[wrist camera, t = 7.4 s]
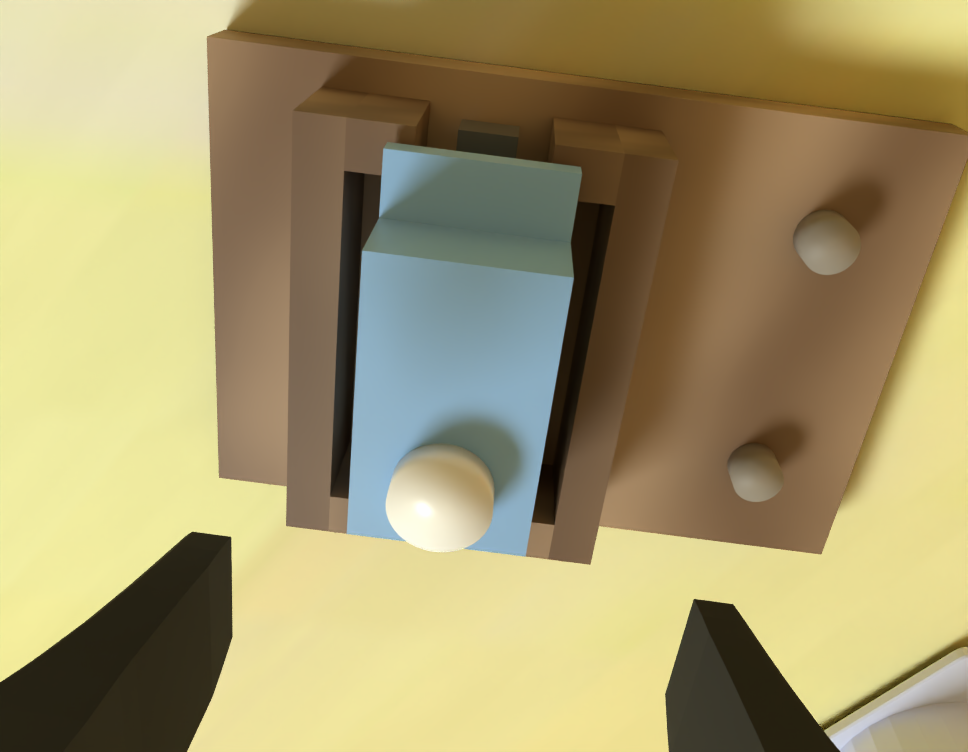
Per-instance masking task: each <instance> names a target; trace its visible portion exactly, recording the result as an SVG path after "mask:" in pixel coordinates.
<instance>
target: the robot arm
mask: <svg viewBox="0 0 968 752" xmlns="http://www.w3.org/2000/svg"><path fill="white" fill-rule="evenodd" d="M231 639H232V562H231V537H227V536H220V535H213V534H205V533H198V532H191V533H190V534H188V535H187V536H185V537H184V538H183V539H182V540H181V541H180V542H179V543H177V544H176V545H175V546H174V547H173V548H172V549H171V550H169V551H168V552H167V553H166V554H165V555H164V556H163V557H162V558H160V559H159V560H158V561H157V562H156V563H155V564H154V565H153V566H151V567H150V568H149V569H148V570H147V571H146V572H144V573H143V574H142V575H141V576H140V577H139V578H138V579H136V580H135V581H134V582H133V583H132V584H131V585H129V586H128V587H127V588H126V589H125V590H123V591H122V592H121V593H120V594H119V595H117V596H116V597H115V598H114V599H112V600H111V601H110V602H109V603H108V604H106V605H105V606H104V607H103V608H102V609H100V610H99V611H98V612H97V613H95V614H94V615H93V616H92V617H90V618H89V619H88V620H87V621H85V622H84V623H83V624H82V625H80V626H79V627H78V628H76V629H75V630H73V631H72V632H71V633H69V634H68V635H67V636H65V637H64V638H63V639H61V640H60V641H59V642H57V643H56V644H55V645H53V646H52V647H51V648H49V649H48V650H47V651H45V652H44V653H43V654H41V655H40V656H38V657H37V658H36V659H34V660H33V661H31V662H30V663H28V664H27V665H25V666H24V667H23V668H21V669H20V670H18V671H17V672H15V673H14V674H12V675H11V676H9V677H8V678H6V679H5V680H3V681H2V682H0V752H187V750H188V748H189V746H190V744H191V742H192V740H193V737H194V735H195V733H196V731H197V729H198V727H199V725H200V723H201V720H202V718H203V716H204V714H205V712H206V710H207V707H208V705H209V703H210V701H211V699H212V696H213V694H214V691H215V688H216V685H217V682H218V679H219V676H220V673H221V670H222V667H223V664H224V661H225V658H226V655H227V652H228V649H229V646H230V642H231ZM665 697H666V715H667V732H668V745H669V752H968V647H962V648H959V649H956V650H954V651H953V652H951V653H949V654H948V655H946V656H944V657H943V658H941V659H940V660H938V661H936V662H935V663H933V664H931V665H930V666H928V667H926V668H925V669H923V670H922V671H920V672H918V673H917V674H915V675H913V676H912V677H910V678H909V679H907V680H905V681H904V682H902V683H900V684H899V685H897V686H896V687H894V688H892V689H891V690H889V691H887V692H886V693H884V694H883V695H881V696H879V697H878V698H876V699H874V700H873V701H871V702H870V703H868V704H866V705H865V706H863V707H861V708H860V709H858V710H857V711H855V712H853V713H852V714H850V715H848V716H847V717H845V718H844V719H842V720H840V721H839V722H837V723H835V724H834V725H832V726H831V727H829V728H827V729H826V730H824V731H823V729H822V728H821V727H820V726H819V724H818V723H817V722H816V720H815V719H814V718H813V716H812V715H811V714H810V712H809V711H808V710H807V708H806V707H805V706H804V704H803V703H802V702H801V700H800V699H799V698H798V696H797V695H796V694H795V692H794V691H793V690H792V688H791V687H790V685H789V684H788V683H787V681H786V680H785V678H784V677H783V676H782V674H781V673H780V671H779V670H778V668H777V667H776V666H775V664H774V663H773V661H772V660H771V658H770V657H769V656H768V654H767V653H766V651H765V650H764V648H763V647H762V645H761V644H760V642H759V641H758V640H757V638H756V637H755V635H754V634H753V632H752V631H751V629H750V628H749V626H748V625H747V623H746V622H745V620H744V619H743V618H742V616H741V615H740V613H739V612H738V610H737V609H736V608H735V606H734V605H733V604H727V603H720V602H712V601H705V600H697V599H694V600H693V604H692V607H691V610H690V614H689V617H688V620H687V624H686V627H685V630H684V634H683V637H682V640H681V644H680V647H679V650H678V654H677V657H676V660H675V664H674V667H673V670H672V674H671V677H670V680H669V684H668V687H667V690H666V694H665Z"/></svg>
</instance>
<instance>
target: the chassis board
mask: <svg viewBox="0 0 968 752" xmlns="http://www.w3.org/2000/svg"><path fill="white" fill-rule="evenodd" d="M207 59H208V95H209V131H210V167H211V203H212V239H213V275H214V311H215V347H216V383H217V419H218V455H219V478H226V479H234V480H241V481H249V482H257V483H265V484H273V485H281V486H287V511H286V526H291V527H299V528H307V529H314V530H322V531H330V532H338V533H346V534H347V520H348V502H349V483H350V465H351V446H352V428H353V409H354V391H355V372H356V354H357V335H358V317H359V298H360V280H361V261H362V250H363V248H364V246H365V244H366V242H367V240H368V238H369V236H370V234H371V232H372V230H373V229H374V227H375V225H376V223H377V221H378V219H379V210H380V194H381V178H382V162H383V148H384V147H385V145H386V144H387V142H392V143H399V144H407V145H415V146H423V147H430V148H438V149H446V150H454V151H456V147H457V137H458V129H459V126H460V123H461V121H462V119H466V120H474V121H482V122H489V123H497V124H505V125H513V126H520V128H519V138H518V146H517V154H516V159H523V160H531V161H539V162H547V163H554V164H562V165H570V166H578V167H581V170H582V178H581V183H580V189H579V195H578V201H577V207H576V213H575V219H574V225H573V231H572V237H571V252H572V263H573V274H574V280H573V286H572V292H571V297H570V303H569V309H568V315H567V320H566V326H565V332H564V338H563V343H562V349H561V355H560V361H559V366H558V372H557V378H556V384H555V389H554V395H553V401H552V407H551V413H550V418H549V424H548V430H547V436H546V441H545V447H544V453H543V459H542V464H541V470H540V476H539V482H538V487H537V493H536V499H535V505H534V511H533V516H532V522H531V528H530V534H529V539H528V545H527V551H526V556H527V557H535V558H543V559H551V560H558V561H566V562H574V563H582V564H591V559H592V554H593V550H594V545H595V541H596V536H597V532H598V527H599V526H603V527H611V528H618V529H626V530H634V531H642V532H650V533H658V534H666V535H673V536H681V537H689V538H697V539H705V540H713V541H721V542H728V543H736V544H744V545H752V546H760V547H768V548H776V549H783V550H791V551H799V552H807V553H815V554H822V551H823V548H824V546H825V543H826V540H827V538H828V535H829V532H830V530H831V527H832V524H833V521H834V519H835V516H836V513H837V511H838V508H839V505H840V502H841V500H842V497H843V494H844V492H845V489H846V486H847V484H848V481H849V478H850V475H851V473H852V470H853V467H854V465H855V462H856V459H857V457H858V454H859V451H860V448H861V446H862V443H863V440H864V438H865V435H866V432H867V430H868V427H869V424H870V421H871V419H872V416H873V413H874V411H875V408H876V405H877V402H878V400H879V397H880V394H881V392H882V389H883V386H884V384H885V381H886V378H887V375H888V373H889V370H890V367H891V365H892V362H893V359H894V357H895V354H896V351H897V348H898V346H899V343H900V340H901V338H902V335H903V332H904V330H905V327H906V324H907V321H908V319H909V316H910V313H911V311H912V308H913V305H914V302H915V300H916V297H917V294H918V292H919V289H920V286H921V284H922V281H923V278H924V275H925V273H926V270H927V267H928V265H929V262H930V259H931V257H932V254H933V251H934V248H935V246H936V243H937V240H938V238H939V235H940V232H941V230H942V227H943V224H944V221H945V219H946V216H947V213H948V211H949V208H950V205H951V202H952V200H953V197H954V194H955V192H956V189H957V186H958V184H959V181H960V178H961V175H962V173H963V170H964V167H965V165H966V162H967V159H968V132H966V131H964V130H962V129H960V128H958V127H956V126H954V125H953V124H946V123H938V122H931V121H923V120H915V119H908V118H900V117H892V116H885V115H877V114H869V113H861V112H854V111H846V110H838V109H831V108H823V107H815V106H808V105H800V104H792V103H785V102H777V101H769V100H761V99H754V98H746V97H738V96H731V95H723V94H715V93H708V92H700V91H692V90H684V89H677V88H669V87H661V86H654V85H646V84H638V83H631V82H623V81H615V80H608V79H600V78H592V77H584V76H577V75H569V74H561V73H554V72H546V71H538V70H531V69H523V68H515V67H508V66H500V65H492V64H484V63H477V62H469V61H461V60H454V59H446V58H438V57H431V56H423V55H415V54H408V53H400V52H392V51H384V50H377V49H369V48H361V47H354V46H346V45H338V44H331V43H323V42H315V41H307V40H300V39H292V38H284V37H277V36H269V35H261V34H254V33H246V32H238V31H231V30H223V31H221V32H218V33H215V34H213V35H210V36H207Z"/></svg>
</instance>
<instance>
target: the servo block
mask: <svg viewBox="0 0 968 752" xmlns="http://www.w3.org/2000/svg"><path fill="white" fill-rule="evenodd" d="M519 128H520V126H513V125H505V124H497V123H489V122H482V121H474V120H466V119H462V121H461V123H460V126H459V129H458V137H457V147H456V151H454V150H446V149H438V148H430V147H423V146H415V145H407V144H399V143H392V142H387V144H386V145H385V147H384V148H383V162H382V178H381V194H380V210H379V219H378V221H377V223H376V225H375V227H374V229H373V230H372V232H371V234H370V236H369V238H368V240H367V242H366V244H365V246H364V248H363V250H362V261H361V280H360V298H359V317H358V335H357V354H356V372H355V391H354V409H353V428H352V446H351V465H350V483H349V502H348V520H347V534H352V535H360V536H368V537H375V538H383V539H391V540H399V541H407V542H408V543H410V544H412V545H414V546H416V547H418V548H421V549H424V550H428V551H433V552H452V551H457V550H461V549H470V550H478V551H486V552H494V553H502V554H510V555H518V556H525V557H526V551H527V545H528V539H529V534H530V528H531V522H532V516H533V511H534V505H535V499H536V493H537V487H538V482H539V476H540V470H541V464H542V459H543V453H544V447H545V441H546V436H547V430H548V424H549V418H550V413H551V407H552V401H553V395H554V389H555V384H556V378H557V372H558V366H559V361H560V355H561V349H562V343H563V338H564V332H565V326H566V320H567V315H568V309H569V303H570V297H571V292H572V286H573V280H574V274H573V263H572V252H571V237H572V231H573V225H574V219H575V213H576V207H577V201H578V195H579V189H580V183H581V178H582V170H581V167H578V166H570V165H562V164H554V163H547V162H539V161H531V160H523V159H516V154H517V146H518V138H519Z"/></svg>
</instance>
